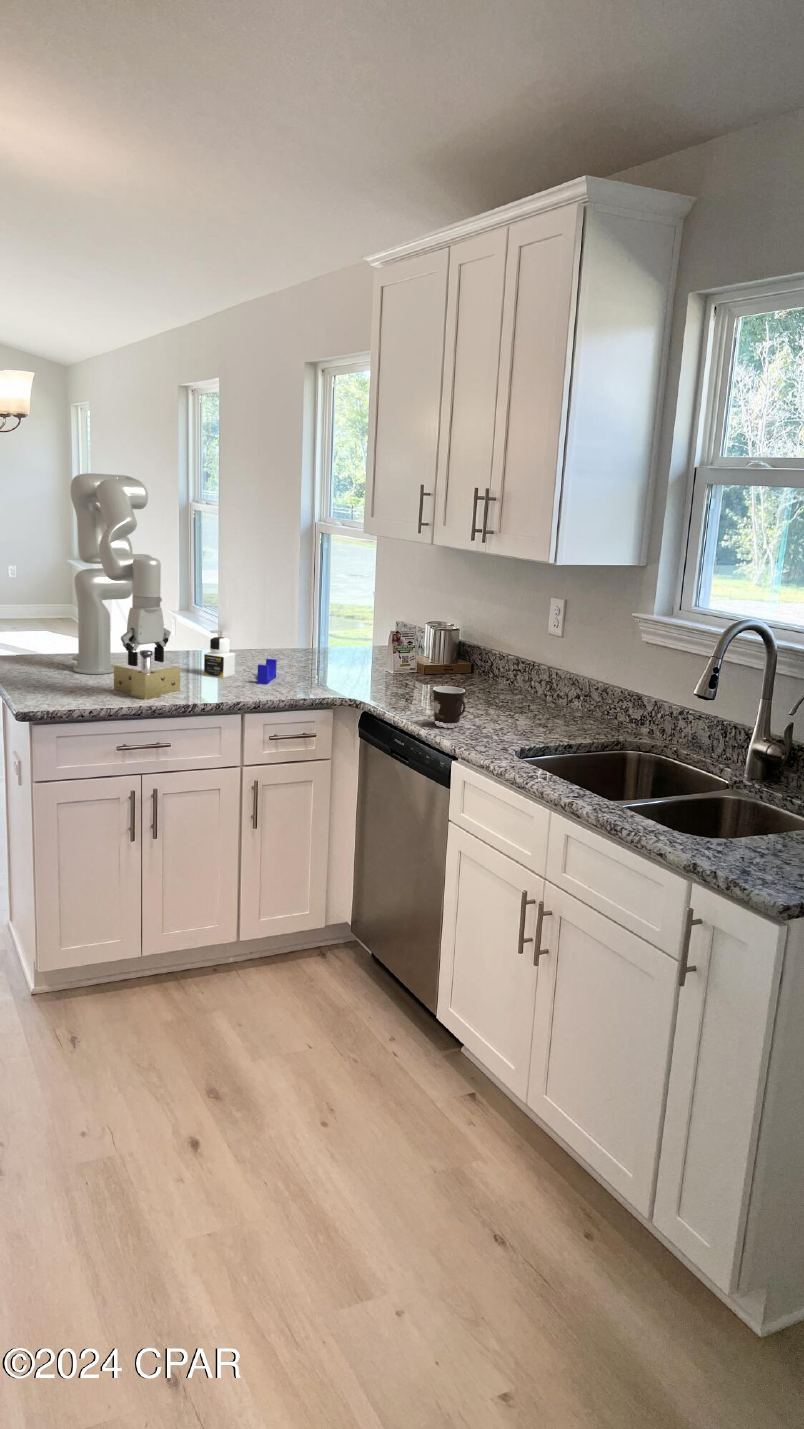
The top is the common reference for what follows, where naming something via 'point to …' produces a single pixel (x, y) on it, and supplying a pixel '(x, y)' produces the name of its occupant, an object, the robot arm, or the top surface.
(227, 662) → the medicine bottle
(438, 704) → the coffee mug
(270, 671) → the cable clip
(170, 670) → the hinge
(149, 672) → the pin
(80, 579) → the robot arm
